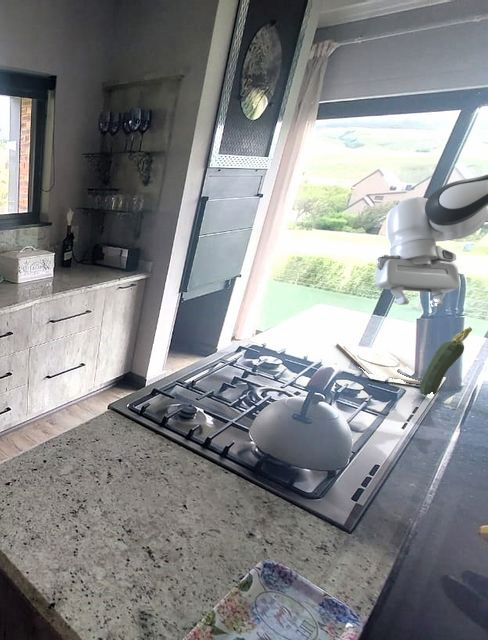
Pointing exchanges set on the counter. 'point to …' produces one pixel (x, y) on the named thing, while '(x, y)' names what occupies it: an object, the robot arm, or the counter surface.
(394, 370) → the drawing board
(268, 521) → the counter surface
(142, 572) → the counter surface
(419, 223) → the robot arm
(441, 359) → the vegetable
